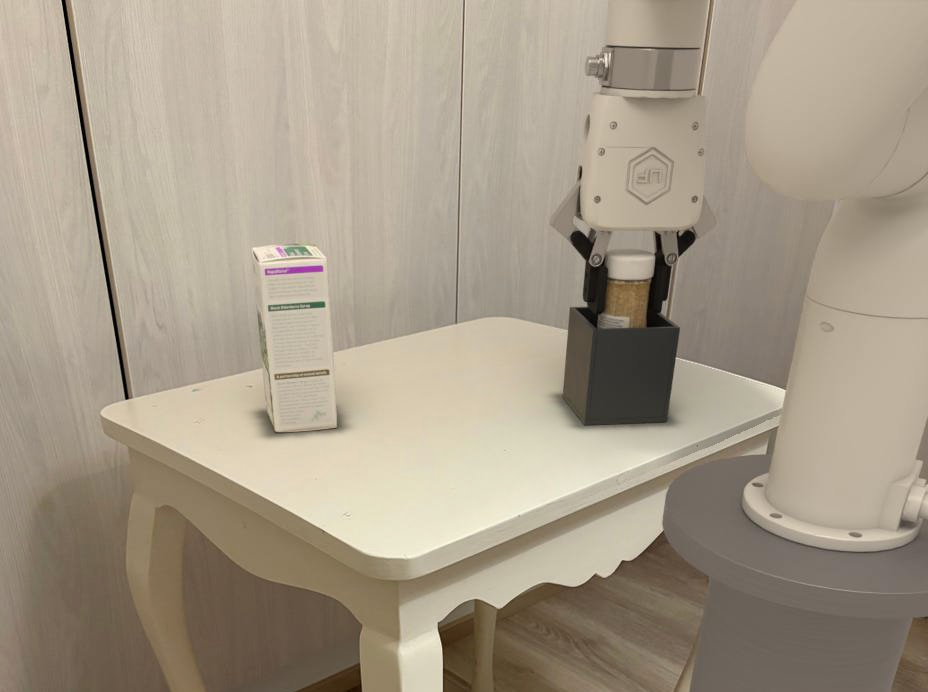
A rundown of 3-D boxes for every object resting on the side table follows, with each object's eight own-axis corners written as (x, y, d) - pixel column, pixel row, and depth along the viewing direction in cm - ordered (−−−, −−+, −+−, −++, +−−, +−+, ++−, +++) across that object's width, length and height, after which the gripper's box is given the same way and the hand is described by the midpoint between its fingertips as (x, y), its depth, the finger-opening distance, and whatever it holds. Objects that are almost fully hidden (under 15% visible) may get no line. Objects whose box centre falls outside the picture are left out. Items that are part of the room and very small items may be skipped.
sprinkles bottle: (647, 407, 92) (667, 254, 85) (606, 414, 90) (622, 258, 83) (619, 393, 96) (635, 245, 88) (579, 399, 94) (592, 249, 87)
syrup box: (339, 428, 87) (332, 255, 80) (272, 434, 86) (258, 258, 78) (327, 407, 92) (319, 241, 84) (263, 412, 91) (249, 244, 83)
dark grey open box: (639, 394, 97) (651, 305, 92) (667, 422, 90) (680, 327, 86) (562, 397, 96) (569, 306, 91) (584, 425, 89) (593, 329, 85)
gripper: (556, 75, 74) (540, 323, 84) (770, 78, 77) (730, 319, 86) (535, 70, 81) (521, 301, 90) (733, 73, 83) (699, 298, 93)
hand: (623, 307), depth 88 cm, fingers closed on sprinkles bottle, 4 cm apart
